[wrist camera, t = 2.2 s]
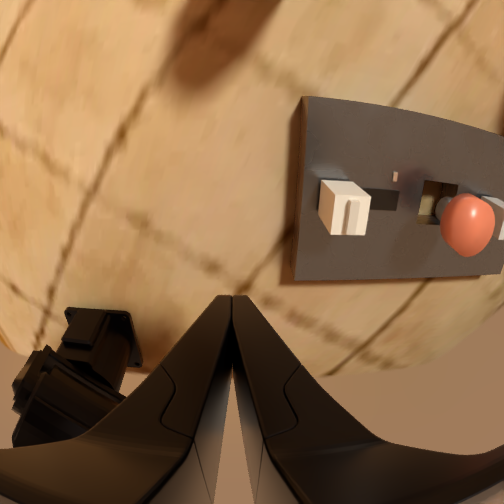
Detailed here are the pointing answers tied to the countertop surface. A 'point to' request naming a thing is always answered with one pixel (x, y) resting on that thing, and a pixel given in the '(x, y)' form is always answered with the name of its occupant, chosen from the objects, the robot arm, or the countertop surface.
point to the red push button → (465, 223)
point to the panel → (390, 190)
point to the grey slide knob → (496, 215)
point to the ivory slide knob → (343, 207)
